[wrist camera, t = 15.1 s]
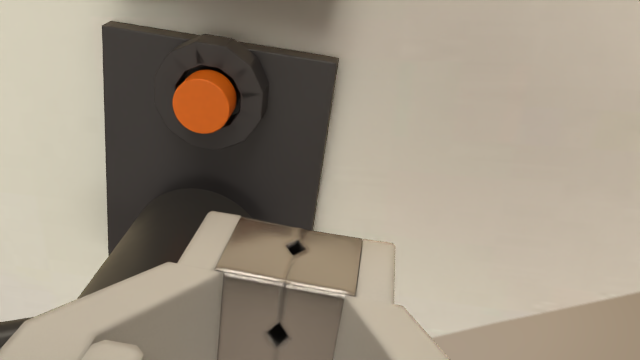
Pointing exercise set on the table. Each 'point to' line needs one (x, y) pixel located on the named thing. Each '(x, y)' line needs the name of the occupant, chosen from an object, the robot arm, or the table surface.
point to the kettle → (152, 239)
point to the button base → (223, 145)
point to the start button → (204, 101)
